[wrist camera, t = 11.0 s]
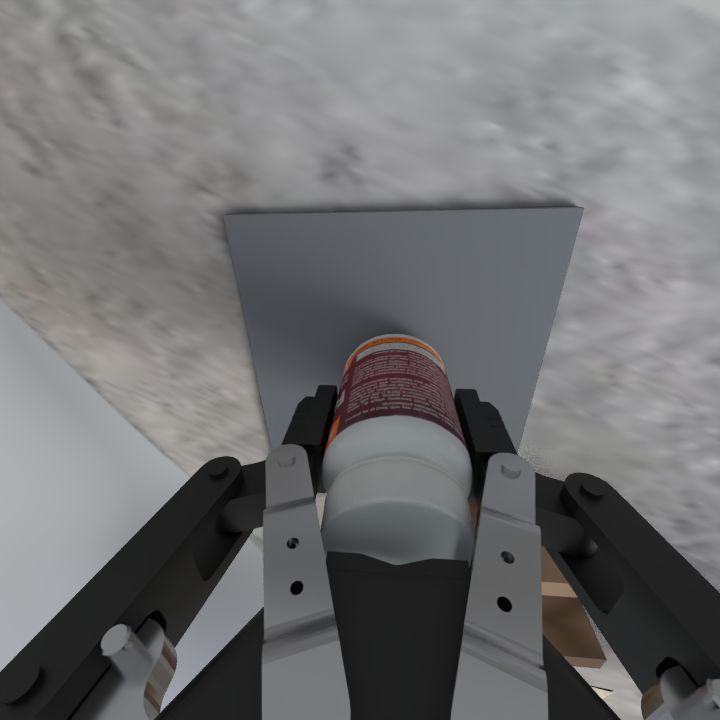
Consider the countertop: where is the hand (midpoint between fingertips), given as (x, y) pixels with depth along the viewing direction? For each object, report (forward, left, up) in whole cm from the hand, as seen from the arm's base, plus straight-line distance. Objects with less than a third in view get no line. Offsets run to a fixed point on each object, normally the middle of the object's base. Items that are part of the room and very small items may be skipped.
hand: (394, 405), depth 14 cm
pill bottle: (0, 0, -2) cm, 2 cm away
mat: (0, 0, -4) cm, 4 cm away
